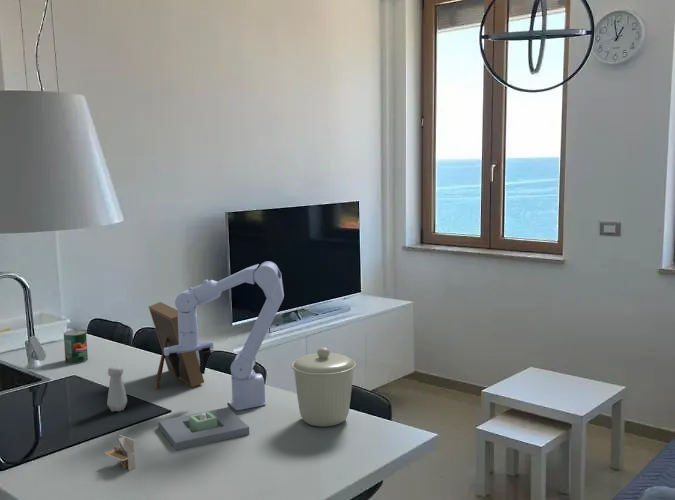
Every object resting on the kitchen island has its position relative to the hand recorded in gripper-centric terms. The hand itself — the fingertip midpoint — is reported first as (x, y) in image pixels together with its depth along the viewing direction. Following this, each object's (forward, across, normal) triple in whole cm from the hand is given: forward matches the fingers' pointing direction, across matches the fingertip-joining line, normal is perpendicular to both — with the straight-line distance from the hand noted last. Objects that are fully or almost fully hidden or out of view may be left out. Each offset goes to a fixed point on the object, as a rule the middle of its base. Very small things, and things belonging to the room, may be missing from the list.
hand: (190, 375), depth 203 cm
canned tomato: (+10, +23, -67) cm, 71 cm away
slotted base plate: (+9, +3, +21) cm, 23 cm away
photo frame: (+10, -1, -26) cm, 28 cm away
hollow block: (+9, +3, +21) cm, 23 cm away
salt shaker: (+10, +20, -8) cm, 24 cm away
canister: (+10, -29, +31) cm, 44 cm away
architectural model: (+10, +26, +32) cm, 43 cm away
